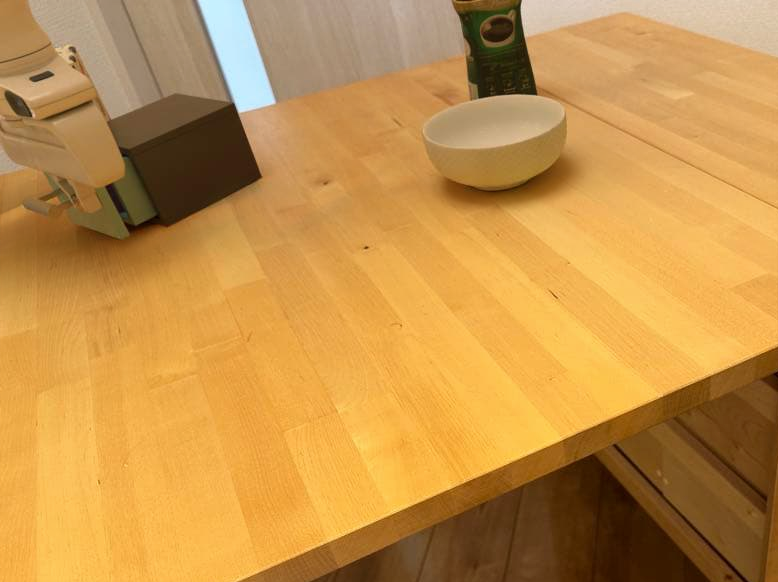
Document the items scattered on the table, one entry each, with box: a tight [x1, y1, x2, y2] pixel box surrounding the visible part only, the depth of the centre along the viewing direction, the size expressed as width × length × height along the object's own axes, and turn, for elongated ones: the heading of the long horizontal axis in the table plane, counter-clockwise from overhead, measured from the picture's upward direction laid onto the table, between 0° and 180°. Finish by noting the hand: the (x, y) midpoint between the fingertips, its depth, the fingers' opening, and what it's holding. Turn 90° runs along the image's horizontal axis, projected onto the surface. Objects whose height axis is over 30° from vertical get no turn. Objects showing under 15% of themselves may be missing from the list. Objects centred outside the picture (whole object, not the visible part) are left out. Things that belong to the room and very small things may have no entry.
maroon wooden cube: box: [105, 184, 125, 213], centre depth 93 cm, size 4×4×4 cm
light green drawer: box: [22, 154, 157, 241], centre depth 92 cm, size 18×12×8 cm, turn 145°
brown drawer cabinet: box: [107, 93, 263, 228], centre depth 97 cm, size 15×13×10 cm
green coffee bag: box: [451, 0, 538, 101], centre depth 105 cm, size 10×8×19 cm
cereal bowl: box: [421, 95, 568, 192], centre depth 89 cm, size 17×17×7 cm
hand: (89, 209), depth 86 cm, fingers closed
